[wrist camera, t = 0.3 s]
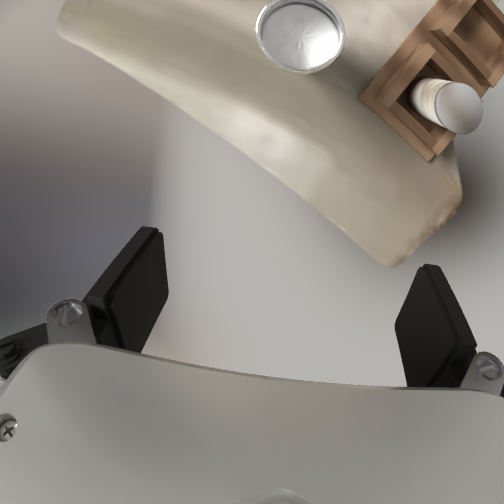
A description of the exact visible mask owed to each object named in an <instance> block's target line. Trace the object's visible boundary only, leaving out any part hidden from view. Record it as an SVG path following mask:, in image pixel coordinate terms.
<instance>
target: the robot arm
mask: <svg viewBox="0 0 504 504" xmlns="http://www.w3.org/2000/svg"><path fill="white" fill-rule="evenodd" d="M163 241H164V240H163V234H162V233H161V232H159V230H158V229H157V228H153V227H144V226H142V227H141V228H140V229H139V230H138V231H137V232H136V234H135V235H134V236H133V237H132V238H131V240H130V241H129V242H128V243H127V244H126V246H125V247H124V248H123V249H122V250H121V252H120V253H119V254H118V256H117V257H116V258H115V259H114V260H113V262H112V263H111V264H110V265H109V267H108V268H107V269H106V270H105V272H104V273H103V274H102V276H101V277H100V278H99V279H98V281H97V282H96V283H95V285H94V286H93V287H92V288H91V290H90V291H89V292H88V294H87V295H86V296H85V298H84V299H83V300H82V301H81V300H77V299H64V300H62V301H59V302H57V303H56V304H54V305H53V306H52V307H51V308H50V309H49V310H48V313H47V315H46V323H44V324H41V325H38V326H35V327H32V328H30V329H27V330H24V331H21V332H19V333H16V334H13V335H10V336H7V337H5V338H3V339H1V340H0V504H504V366H503V364H502V362H501V361H500V360H499V359H498V358H497V357H496V356H495V355H493V354H491V353H488V352H479V353H477V352H476V349H475V348H476V346H477V343H476V341H475V339H474V336H473V334H472V332H471V329H470V327H469V325H468V322H467V320H466V318H465V316H464V314H463V312H462V309H461V307H460V305H459V303H458V301H457V299H456V297H455V295H454V293H453V291H452V289H451V287H450V285H449V283H448V281H447V279H446V277H445V275H444V274H443V272H442V270H441V268H440V267H439V266H437V265H431V264H424V265H423V267H419V269H418V270H417V273H416V276H415V278H414V281H413V283H412V285H411V288H410V290H409V292H408V294H407V297H406V299H405V301H404V304H403V306H402V308H401V310H400V313H399V315H398V317H397V319H396V322H395V332H396V336H397V341H398V345H399V349H400V353H401V358H402V363H403V367H404V372H405V377H406V382H407V387H388V386H365V385H349V384H336V383H324V382H313V381H301V380H293V379H285V378H277V377H269V376H261V375H254V374H247V373H240V372H235V371H228V370H222V369H216V368H210V367H205V366H200V365H194V364H189V363H184V362H179V361H175V360H170V359H165V358H160V357H155V356H150V355H146V354H141V351H142V349H143V347H144V345H145V343H146V341H147V339H148V337H149V335H150V333H151V331H152V329H153V326H154V324H155V323H156V320H157V319H158V316H159V315H160V313H161V310H162V308H163V307H164V304H165V302H166V301H167V298H168V292H169V291H168V281H167V273H166V262H165V251H164V242H163Z"/></svg>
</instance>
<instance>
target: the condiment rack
mask: <svg viewBox="0 0 504 504" xmlns="http://www.w3.org/2000/svg"><path fill="white" fill-rule="evenodd" d="M503 74H504V14H503V13H502V12H501V11H500V10H499V8H498V7H497V6H496V5H495V4H494V3H493V2H492V1H491V0H438V1H437V3H436V4H435V5H434V6H433V7H432V8H431V10H430V11H429V12H428V13H427V14H426V16H425V17H424V18H423V19H422V20H421V22H420V23H419V24H418V25H417V26H416V28H415V29H414V30H413V31H412V32H411V34H410V35H409V36H408V37H407V38H406V40H405V41H404V42H403V43H402V45H401V46H400V47H399V48H398V49H397V51H396V52H395V53H394V54H393V55H392V57H391V58H390V59H389V60H388V62H387V63H386V64H385V65H384V66H383V68H382V69H381V70H380V71H379V73H378V74H377V75H376V76H375V77H374V79H373V80H372V81H371V82H370V84H369V85H368V86H367V87H366V88H365V90H364V91H363V92H362V93H361V95H360V96H359V97H358V98H357V99H359V100H360V101H361V102H362V103H364V104H365V105H366V106H367V107H368V108H370V109H371V110H372V111H373V112H374V113H376V114H377V115H378V116H379V117H380V118H381V119H383V120H384V121H385V122H386V123H387V124H388V125H389V126H391V127H392V128H393V129H394V130H395V131H396V132H397V133H398V134H399V135H400V136H401V137H403V138H404V139H405V140H406V141H407V142H408V143H409V144H410V145H411V146H412V147H413V148H414V149H415V150H416V151H417V152H418V153H419V154H420V155H421V156H422V157H423V158H424V159H425V160H426V161H428V162H429V160H430V159H431V158H432V157H433V156H434V155H435V154H436V155H439V154H440V153H441V152H442V151H443V150H444V148H445V147H446V146H447V145H448V144H449V142H450V141H451V140H452V139H453V138H454V137H455V135H456V134H468V133H470V132H472V131H474V130H475V129H476V128H477V127H478V125H479V123H480V121H481V118H482V111H483V109H482V101H481V97H482V96H483V95H484V94H485V92H486V91H487V90H488V88H489V87H492V88H493V87H494V86H495V85H496V84H497V82H498V81H499V80H500V78H501V77H502V75H503Z"/></svg>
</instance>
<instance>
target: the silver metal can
mask: <svg viewBox="0 0 504 504" xmlns="http://www.w3.org/2000/svg"><path fill="white" fill-rule="evenodd" d="M256 39H257V42H258V45H259V47H260V49H261V51H262V52H263V54H264V55H265V57H266V58H267V59H268V60H269V61H270V62H271V63H272V64H273V65H275V66H276V67H278V68H279V69H281V70H283V71H286V72H289V73H293V74H300V75H305V74H312V73H316V72H319V71H321V70H323V69H325V68H326V67H328V66H329V65H331V64H332V63H333V62H334V61H335V59H336V58H337V57H338V56H339V54H340V53H341V51H342V49H343V46H344V42H345V28H344V24H343V21H342V19H341V17H340V15H339V14H338V12H337V11H336V10H335V9H334V8H333V7H332V6H331V5H330V4H329V3H327V2H326V1H324V0H273V1H271V2H270V3H269V4H267V5H266V6H265V7H264V9H263V10H262V11H261V13H260V15H259V17H258V19H257V23H256Z"/></svg>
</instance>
